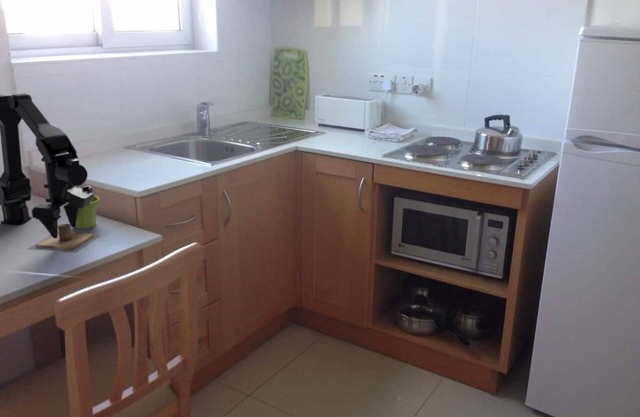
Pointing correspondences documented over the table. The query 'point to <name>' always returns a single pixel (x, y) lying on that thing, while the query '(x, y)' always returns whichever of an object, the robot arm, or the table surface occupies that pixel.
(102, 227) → the table surface
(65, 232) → the lid
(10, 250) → the table surface
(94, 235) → the mat
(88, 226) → the plant pot
